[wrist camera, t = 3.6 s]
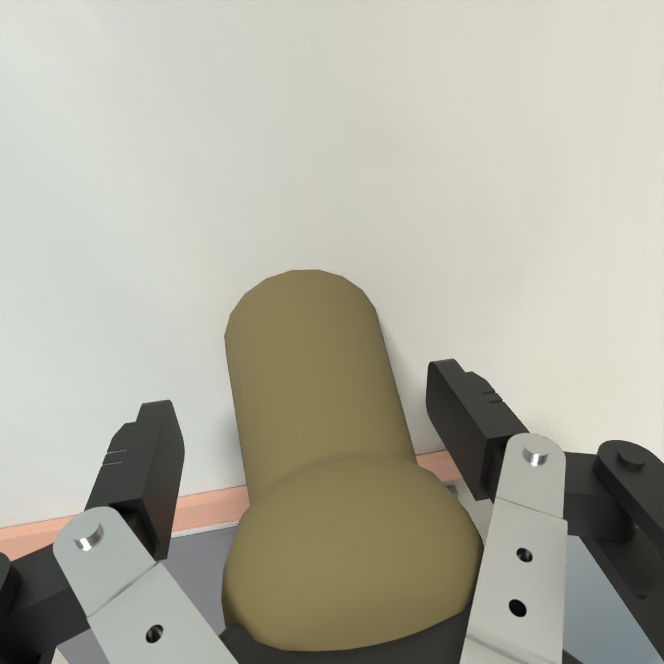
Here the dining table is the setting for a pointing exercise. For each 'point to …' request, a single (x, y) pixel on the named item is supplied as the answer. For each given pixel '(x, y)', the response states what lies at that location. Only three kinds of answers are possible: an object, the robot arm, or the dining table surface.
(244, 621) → the cork
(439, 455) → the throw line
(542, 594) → the robot arm
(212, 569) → the mat
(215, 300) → the dining table surface
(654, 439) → the dining table surface
